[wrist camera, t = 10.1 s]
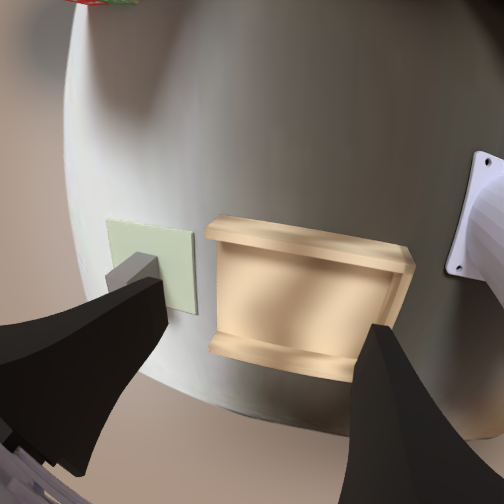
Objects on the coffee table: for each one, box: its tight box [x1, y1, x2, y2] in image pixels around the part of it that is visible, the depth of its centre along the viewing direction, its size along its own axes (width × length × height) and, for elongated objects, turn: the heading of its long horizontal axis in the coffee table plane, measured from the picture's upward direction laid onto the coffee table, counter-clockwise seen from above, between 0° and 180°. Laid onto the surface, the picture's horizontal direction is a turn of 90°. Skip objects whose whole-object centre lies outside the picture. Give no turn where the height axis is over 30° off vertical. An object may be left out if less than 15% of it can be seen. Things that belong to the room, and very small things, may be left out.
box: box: [205, 215, 416, 382], centre depth 18 cm, size 12×10×2 cm
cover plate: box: [105, 218, 197, 314], centre depth 21 cm, size 8×7×5 cm
